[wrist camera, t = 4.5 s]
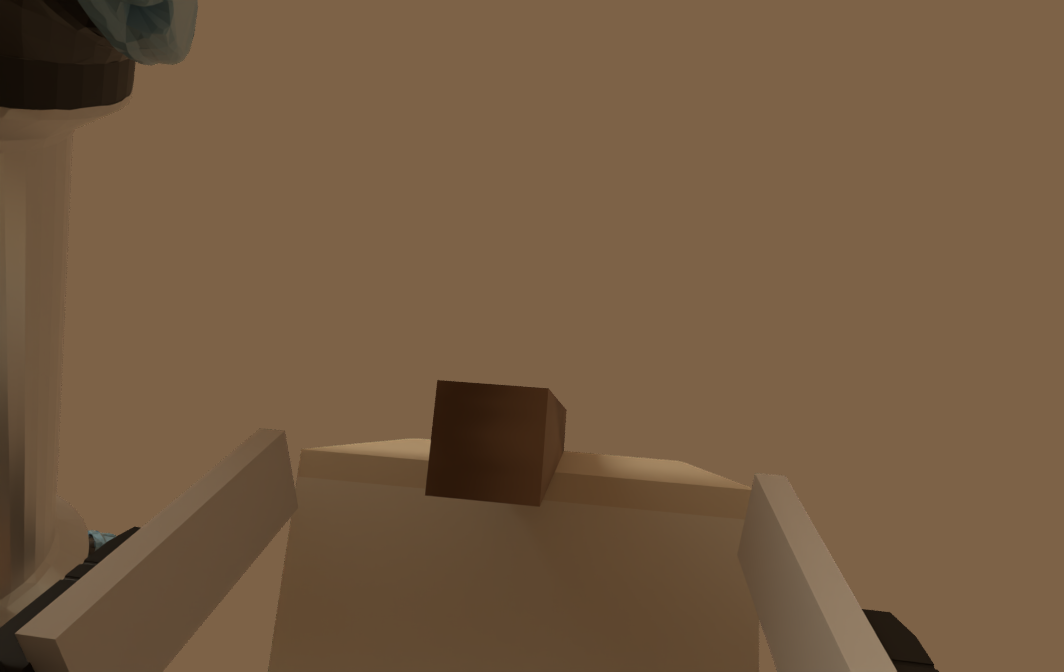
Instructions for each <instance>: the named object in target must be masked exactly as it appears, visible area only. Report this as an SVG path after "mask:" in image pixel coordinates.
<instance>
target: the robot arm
mask: <svg viewBox="0 0 1064 672" xmlns="http://www.w3.org/2000/svg"><path fill="white" fill-rule="evenodd" d="M197 8H198V7H197V0H0V672H163V670H164V669H165V668H166V667H167V666H168V665H169V663H170V662H171V661H172V660H173V659H174V657H175V656H176V655H177V654H178V653H179V651H180V650H181V649H182V648H183V646H184V645H185V644H186V643H187V642H188V640H189V639H190V638H191V637H192V636H193V634H194V633H195V632H196V631H197V630H198V628H199V627H200V626H201V625H202V624H203V622H204V621H205V620H206V619H207V618H208V616H209V615H210V614H211V613H212V612H213V610H214V609H215V608H216V607H217V605H218V604H219V603H220V602H221V601H222V599H223V598H224V597H225V596H226V595H227V593H228V592H229V591H230V590H231V588H232V587H233V586H234V585H235V584H236V583H237V581H238V580H239V579H240V578H241V576H242V575H243V574H244V573H245V572H246V570H247V569H248V568H249V567H250V566H251V564H252V563H253V562H254V561H255V560H256V558H257V557H258V556H259V555H260V554H261V552H262V551H263V550H264V549H265V547H266V546H267V545H268V544H269V542H270V541H271V540H272V539H273V538H274V537H275V535H276V534H277V533H278V532H279V531H280V529H281V528H282V527H283V526H284V524H285V523H286V522H287V521H288V520H289V518H290V517H291V516H292V515H293V514H294V512H295V511H296V510H297V509H298V504H297V498H296V492H295V487H294V481H293V476H292V469H291V464H290V458H289V452H288V446H287V441H286V435H285V431H282V430H272V429H259V430H258V431H256V432H255V433H254V434H253V435H252V436H250V437H249V438H248V439H247V440H246V441H245V442H243V443H242V444H241V445H240V446H238V447H237V448H236V449H235V450H234V451H233V452H231V453H230V454H229V455H228V456H226V457H225V458H224V459H223V460H222V461H220V462H219V463H218V464H217V465H216V466H215V467H213V468H212V469H211V470H210V471H209V472H207V473H206V474H205V475H204V476H203V477H201V478H200V479H199V480H198V481H197V482H195V483H194V484H193V485H192V486H191V487H189V488H188V489H187V490H186V491H185V492H183V493H182V494H181V495H180V496H179V497H177V498H176V499H175V500H174V501H173V502H171V503H170V504H169V505H168V506H167V507H166V508H165V509H163V510H162V511H161V512H159V513H158V514H157V515H156V516H155V517H153V518H152V519H151V520H150V521H149V522H147V523H146V524H145V525H144V526H143V527H141V528H139V527H133V528H131V529H129V530H128V531H126V532H124V533H122V534H120V535H118V536H116V535H114V534H110V533H100V532H98V531H94V530H89V531H88V530H87V527H86V525H85V522H84V519H83V518H82V517H81V516H80V514H79V513H78V511H77V510H76V509H75V508H74V507H73V506H72V505H71V504H70V503H69V502H67V501H66V500H64V499H63V498H62V497H60V496H58V495H57V475H58V453H59V431H60V409H61V386H62V385H61V384H62V364H63V342H64V320H65V297H66V274H67V252H68V231H69V209H70V184H71V164H72V141H73V132H74V131H75V129H77V128H79V127H82V126H84V125H87V124H89V123H91V122H94V121H96V120H98V119H101V118H103V117H105V116H108V115H110V114H112V113H114V112H117V111H119V110H121V109H122V108H124V107H125V106H126V105H127V104H128V103H129V102H130V100H131V97H132V91H133V81H134V71H135V61H136V62H138V63H140V64H144V65H155V64H158V63H162V64H172V65H173V64H177V63H180V62H181V61H183V60H184V59H185V57H186V56H187V54H188V53H189V51H190V47H191V43H192V39H193V36H194V31H195V24H196V17H197ZM737 556H738V559H739V561H740V564H741V567H742V570H743V573H744V576H745V579H746V582H747V585H748V588H749V591H750V594H751V597H752V599H753V602H754V605H755V608H756V611H757V614H758V617H759V620H760V623H761V626H762V629H763V632H764V634H765V637H766V640H767V643H768V646H769V649H770V652H771V655H772V658H773V661H774V664H775V667H776V670H777V672H939V671H938V670H935V668H934V664H933V662H932V661H931V659H930V658H929V656H928V654H927V653H926V651H925V650H924V648H923V647H922V645H921V644H920V642H919V641H918V639H917V638H916V636H915V635H914V634H912V633H911V632H910V631H909V630H908V629H907V628H906V627H905V626H904V625H903V624H902V623H901V622H900V621H899V620H897V618H895V617H894V616H893V615H892V614H891V613H890V612H882V611H874V610H864V609H861V607H860V605H859V604H858V602H857V600H856V598H855V597H854V595H853V593H852V591H851V590H850V588H849V586H848V584H847V583H846V581H845V579H844V577H843V576H842V574H841V573H840V571H839V569H838V567H837V565H836V563H835V562H834V560H833V558H832V557H831V555H830V553H829V551H828V549H827V548H826V546H825V544H824V542H823V541H822V539H821V537H820V536H819V534H818V532H817V530H816V528H815V527H814V525H813V523H812V521H811V520H810V518H809V516H808V514H807V513H806V511H805V509H804V507H803V506H802V504H801V502H800V500H799V499H798V497H797V495H796V493H795V492H794V490H793V488H792V486H791V485H790V483H789V481H788V479H787V478H786V476H782V475H771V474H759V473H755V475H754V480H753V485H752V489H751V494H750V498H749V503H748V508H747V512H746V517H745V521H744V526H743V531H742V535H741V540H740V544H739V549H738V554H737Z"/></svg>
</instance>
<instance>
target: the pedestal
mask: <svg viewBox="0 0 1064 672" xmlns="http://www.w3.org/2000/svg"><path fill="white" fill-rule="evenodd" d="M430 444H431V440H430V439H418V438H410V439H400V440H389V441H381V442H369V443H360V444H349V445H339V446H329V447H318V448H308V449H301V454H300V461H299V468H298V475H297V481H296V488H295V492H296V498H297V504H298V509H297V510H296V511H295V512H294V514H293V515H292V516H291V521H290V528H289V534H288V541H287V548H286V554H285V561H284V567H283V574H282V581H281V588H280V595H279V600H278V607H277V614H276V620H275V627H274V634H273V641H272V648H271V654H270V660H269V667H268V672H759V617H758V614H757V611H756V608H755V605H754V602H753V599H752V597H751V594H750V591H749V588H748V585H747V582H746V579H745V576H744V573H743V570H742V567H741V564H740V561H739V559H738V556H737V554H738V549H739V544H740V540H741V535H742V531H743V526H744V521H745V517H746V512H747V508H748V503H749V498H750V494H751V489H752V488H751V487H748V486H746V485H743V484H741V483H738V482H735V481H733V480H730V479H727V478H725V477H722V476H719V475H717V474H714V473H711V472H709V471H706V470H703V469H700V468H698V467H695V466H692V465H690V464H687V463H684V462H682V461H673V460H662V459H650V458H649V459H648V458H638V457H626V456H615V455H604V454H592V453H580V452H568V451H564V452H563V454H562V457H561V459H560V461H559V463H558V466H557V468H556V470H555V473H554V475H553V477H552V480H551V482H550V484H549V486H548V489H547V491H546V493H545V496H544V498H543V500H542V503H541V505H540V507H537V506H527V505H517V504H507V503H496V502H486V501H476V500H466V499H455V498H445V497H435V496H425V489H426V480H427V471H428V462H429V453H430Z"/></svg>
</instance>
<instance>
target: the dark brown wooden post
mask: <svg viewBox="0 0 1064 672" xmlns="http://www.w3.org/2000/svg"><path fill="white" fill-rule="evenodd" d="M565 423H566V409H565V408H564V407H563V405H562V404H561V403H560V402H559V401H558V399H557V398H556V397H555V396H554V395H553V394H552V392H551V391H550V390H549V389H548V388H535V387H521V386H507V385H494V384H480V383H467V382H454V381H453V382H452V381H440V380H438V381H437V390H436V398H435V408H434V417H433V426H432V436H431V444H430V453H429V462H428V471H427V480H426V489H425V496H435V497H445V498H455V499H466V500H476V501H486V502H496V503H507V504H517V505H527V506H537V507H540V505H541V503H542V500H543V498H544V496H545V493H546V491H547V489H548V486H549V484H550V482H551V480H552V477H553V475H554V473H555V470H556V468H557V466H558V463H559V461H560V459H561V457H562V454H563V452H564V438H565Z"/></svg>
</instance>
